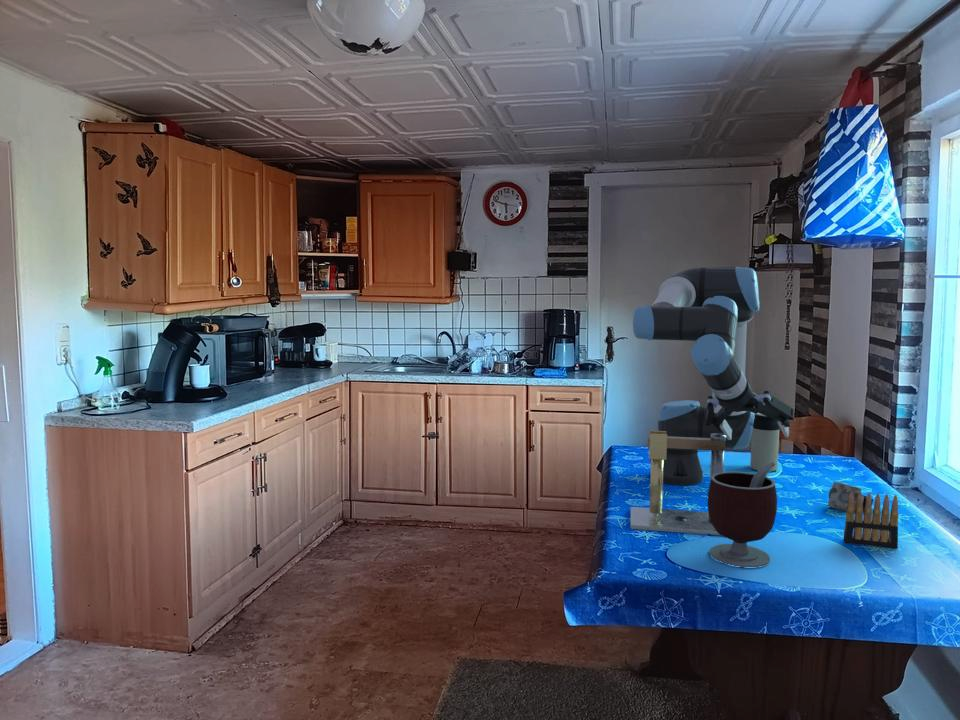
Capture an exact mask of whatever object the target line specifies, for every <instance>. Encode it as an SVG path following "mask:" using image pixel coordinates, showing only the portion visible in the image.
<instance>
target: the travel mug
mask: <svg viewBox="0 0 960 720" xmlns="http://www.w3.org/2000/svg"><path fill="white" fill-rule="evenodd" d="M779 440H780V426H779V425H778V420H775V419H773V418H770V417H768V416H765V415H763V414H760V413H757V414H755V415H754V422H753V429H752V435H751V439H750V444H751V445H750V465H749V466H750V468H751V469H752V470H754V469H755V470H754V471H757V470H760V469H761V468H763V467H765V466H766V465H768V464H770V463H772V462H773V463H775V466H773V467H772V468H771V469H770V470H769V471H773V472H775V470H776V471H777V470H778V466H779V465H778V462H779V447H780V446H779V443H780V441H779Z"/></svg>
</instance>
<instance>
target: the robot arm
mask: <svg viewBox="0 0 960 720" xmlns="http://www.w3.org/2000/svg"><path fill="white" fill-rule="evenodd" d="M759 297H760V296H759V282H758V277H757V272H756V271H755V270H754V268H752V267H739V266H725V267H724V266H723V267H722V266H721V267H720V266H719V267H717V266H715V267H712V266H711V267H709V266H708V267H701V266H700V267H699V266H698V267H689V268H686V269H683V270H680V271H678V272H675V273H674V274H672V275H669V276H668V277H667V278H666V279H664V281H663V282H662V283H661V285H660V287H659V288H658V293H657V296H656V299H655V300H654V302H653V303H652V305H643V306H640V305H639V306H636V307H635V309H634V311H633V316H632V331H633V332H632V333H633V335H634V337H635V338H636V339H641V340H647V341H653V340H654V341H657V340H658V341H686V342H688V341H690V342H694V343H693V345H692V346H691V348H690V356H691V359H692V361H693V363H694V365H695V368H696V369H697V370H698V371H699V373H700V375H701V376H702V377H703V379H705V382H706V384H707V385H708V387H709V389H710V390H711V391H712V393H711V394H712V395H708V396H707V401H706V402H707V403H706V406H701V404H700V401H698V400H691V399H688V400H687V399H685V400H674V401H669V402H665V403H663V404H662V405H660V406H659V408H658V418H657V421H658V425H657V431H666V435H667V436H673V437H695V438H710V436H711V434H712V433H721V434H725V435H726V441H725V449H729V450H731V451H732V450H745V449H747V448H748V447H749V446H750V444H751V439H752V429H753V422H754V419H755V414H757V413H760V414H763V415H765V416H768V417H770V418H773V419H775V420H778V425H779V426H780V427H779V429H780V430H781V432H782V433H783V435H784V437H785V438H789V436H790V425H791V421H794V416H795V409H794V408H793V407H791V406H790V405H788V404H786V403H784V401H782V400H780V399H778V398H776V397H775V396H774V395H772V393H771V391H769V390H764V391H763V394H756V393H755V392H754V391H753V389H752V386H751V385H750V383H749V381H748V379H747V378H746V357H747V333H748V332H747V328H748V325H747V324H748V323H749V322H750V321H752V320H753V318H754V313H757V312H759V311H760V298H759ZM698 452H699V450H696V449H676V448H667V454H666V460H664V467H663V484H667V485H673V486H674V485H675V486H692V485H697V484H700V483H702V482H703V481H704V472H703V470H702V465H701V461H700V458H699V454H698Z"/></svg>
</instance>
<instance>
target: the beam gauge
mask: <svg viewBox="0 0 960 720" xmlns="http://www.w3.org/2000/svg"><path fill="white" fill-rule="evenodd" d="M646 437H647V441H646V445H647V448H649V447H650V435H649V434H648V435H647V436H646ZM725 441H726V435H725V434H721V433H712V434H711V436H710V438H695V437H673V436H667V448H676V449H696V450H698V451H699V450H700V451H701V450H702V451H710V469H709V470H710V472H709V483H710V482H711V476H712V475H714V474H716V473H721V472H725V471H724V470H725V469H724V468H725V452H726V448H725ZM649 510H650V507H640V506H630V530H639V531H640V530H641V531H653V532H669V533H679V534H680V533H682V534H693V533H694V534H695V533H696V534H695V535H697V534H698V535H707V536H708V534H710V535H711V536H721V535H720V534H719V533H718V532H717V531H716V530H715V528H714V527H713V525H712V524H711V522H710V519H709V513H708V511H702V510H701V511H699V510H698V511H697V510H687V509H686V510H685V509H683V510H682V509H671V508H670V509H669V508H662V513H660V514H658V516H654V513H651V512H650V511H649Z"/></svg>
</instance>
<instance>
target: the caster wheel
mask: <svg viewBox="0 0 960 720" xmlns="http://www.w3.org/2000/svg"><path fill="white" fill-rule="evenodd" d="M851 491H852V492H853V495H854V514H855V509H856V504H857V498H858V494H859V493H860V492H861V493H862V488H861V487H858V486H855V485H850V484H846V483H843V482H839V481H834V482H833V485H832V487H831V488H830V490H829V492H828V503H827V507H829V508H833V509H838V510H840V511H843V512H846V510H847V506H848V498H849V494H850V492H851ZM862 497H863V508H865V504H866V498H867V496H866V495H863V494H862ZM871 499H872V505H874V503H873V502H874V498H872V497H871Z"/></svg>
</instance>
